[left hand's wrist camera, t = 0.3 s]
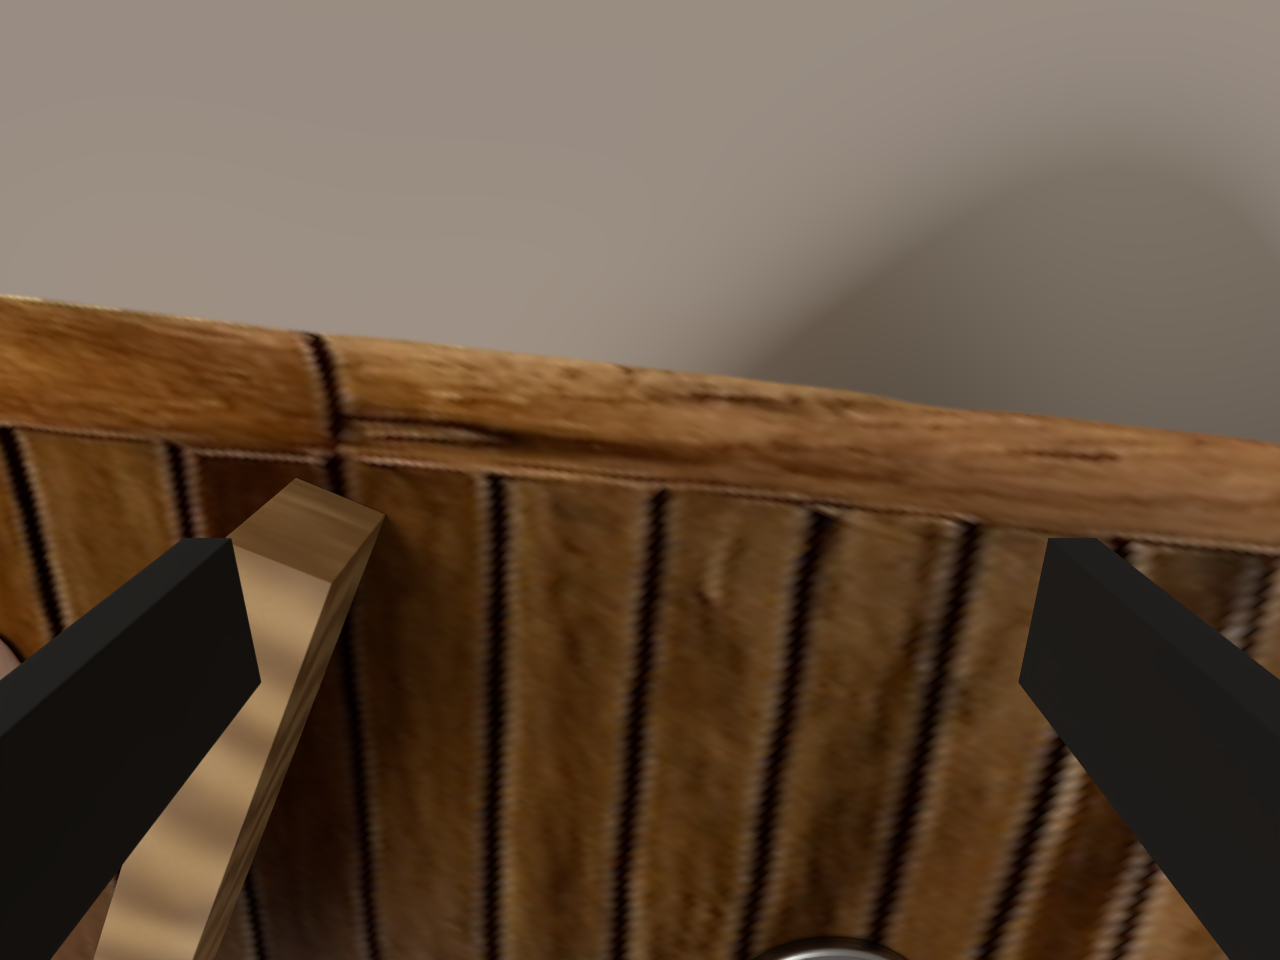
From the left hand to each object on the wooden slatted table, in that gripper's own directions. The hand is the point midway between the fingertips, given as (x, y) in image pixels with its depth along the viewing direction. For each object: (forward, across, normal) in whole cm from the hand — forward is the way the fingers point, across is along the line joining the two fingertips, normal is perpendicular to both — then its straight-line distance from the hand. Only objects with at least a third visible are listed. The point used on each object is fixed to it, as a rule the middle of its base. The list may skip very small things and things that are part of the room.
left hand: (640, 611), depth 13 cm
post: (+27, +27, +33) cm, 51 cm away
